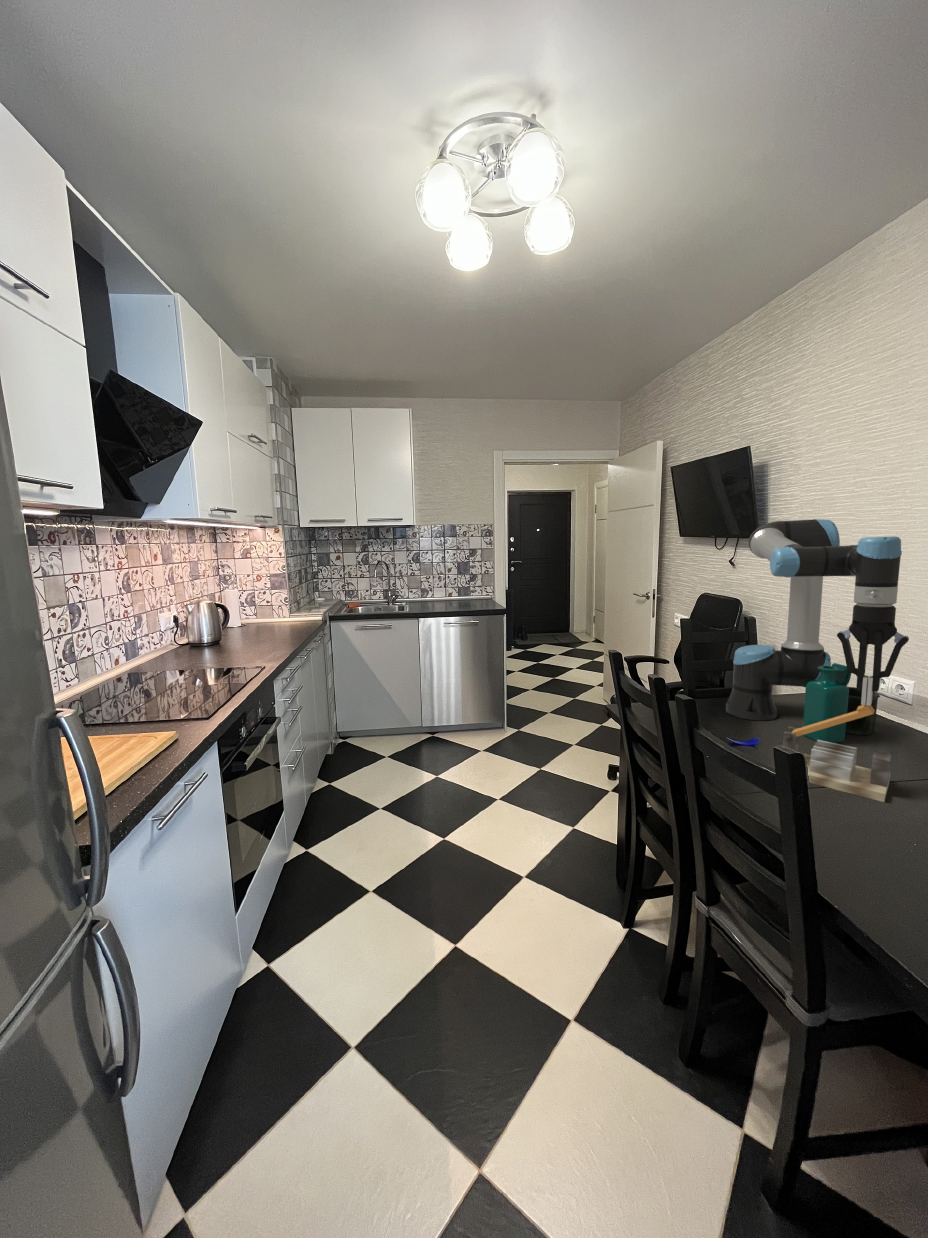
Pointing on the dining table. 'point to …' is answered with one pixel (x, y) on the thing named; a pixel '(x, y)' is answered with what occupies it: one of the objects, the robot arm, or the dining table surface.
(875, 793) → the clear acrylic stand
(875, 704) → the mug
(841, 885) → the dining table surface
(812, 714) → the pitcher
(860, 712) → the wooden stick
